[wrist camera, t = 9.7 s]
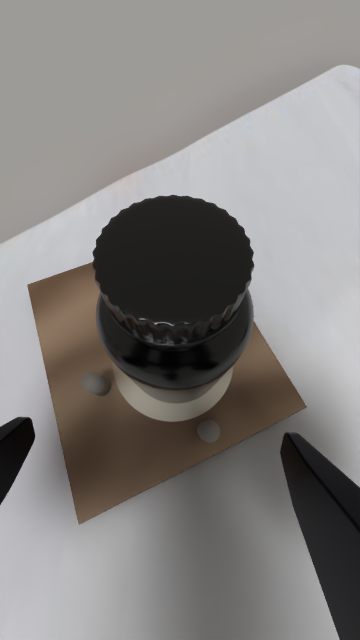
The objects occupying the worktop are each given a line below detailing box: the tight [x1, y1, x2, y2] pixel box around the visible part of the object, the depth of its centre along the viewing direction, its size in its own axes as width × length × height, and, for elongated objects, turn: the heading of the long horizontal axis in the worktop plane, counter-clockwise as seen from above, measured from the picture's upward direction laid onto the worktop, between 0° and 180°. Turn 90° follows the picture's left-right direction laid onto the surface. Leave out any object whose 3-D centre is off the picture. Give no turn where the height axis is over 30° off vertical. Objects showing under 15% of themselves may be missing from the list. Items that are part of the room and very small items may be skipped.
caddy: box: [28, 262, 307, 525], centre depth 18 cm, size 18×16×3 cm
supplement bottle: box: [92, 195, 254, 404], centre depth 12 cm, size 7×7×12 cm
